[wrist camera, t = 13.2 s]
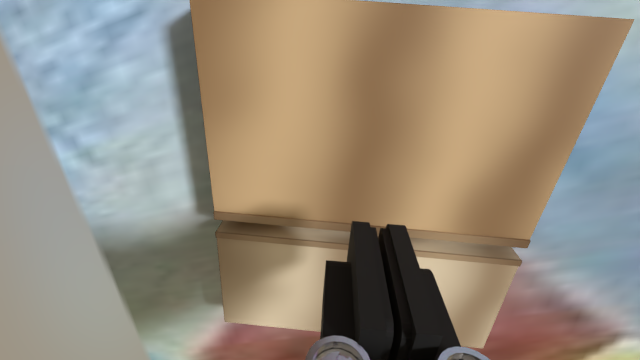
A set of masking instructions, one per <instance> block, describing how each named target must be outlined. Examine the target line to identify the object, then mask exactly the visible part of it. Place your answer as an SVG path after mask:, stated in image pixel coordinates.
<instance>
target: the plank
mask: <svg viewBox="0 0 640 360" xmlns="http://www.w3.org/2000/svg"><path fill="white" fill-rule="evenodd" d="M190 8H191V16H192V25H193V33H194V42H195V50H196V59H197V68H198V76H199V85H200V93H201V102H202V110H203V119H204V127H205V136H206V144H207V153H208V161H209V170H210V178H211V187H212V195H213V204H214V219H215V220H226V221H237V222H247V223H258V224H269V225H280V226H291V227H302V228H313V229H323V230H334V231H345V232H350V231H351V224H352V221H359V222H369V223H370V227H375V228H376V230H377V234H378V235H379V231H380V228H386V225H387V224H395V225H405V226H406V228H407V231H408V234H409V237H410V238H421V239H432V240H443V241H454V242H465V243H475V244H486V245H497V246H508V247H519V248H528V246H529V244H530V237H531V235H532V233H533V231H534V229H535V227H536V225H537V223H538V221H539V219H540V217H541V214H542V212H543V210H544V208H545V206H546V204H547V202H548V200H549V198H550V196H551V193H552V191H553V189H554V187H555V185H556V183H557V181H558V179H559V177H560V175H561V172H562V170H563V168H564V166H565V164H566V162H567V160H568V158H569V156H570V154H571V151H572V149H573V147H574V145H575V143H576V141H577V139H578V137H579V135H580V133H581V130H582V128H583V126H584V124H585V122H586V120H587V118H588V116H589V114H590V112H591V110H592V107H593V105H594V103H595V101H596V99H597V97H598V95H599V93H600V91H601V89H602V86H603V84H604V82H605V80H606V78H607V76H608V74H609V72H610V70H611V68H612V65H613V63H614V61H615V59H616V57H617V55H618V53H619V51H620V49H621V47H622V44H623V42H624V40H625V38H626V36H627V34H628V32H629V30H630V28H631V26H632V23H633V21H634V19H620V18H605V17H591V16H576V15H562V14H547V13H532V12H518V11H503V10H488V9H474V8H459V7H445V6H430V5H415V4H401V3H386V2H372V1H357V0H190Z"/></svg>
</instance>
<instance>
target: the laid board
mask: <svg viewBox="0 0 640 360" xmlns="http://www.w3.org/2000/svg"><path fill="white" fill-rule="evenodd" d="M215 235H216V238H217V246H218V257H219V267H220V278H221V288H222V299H223V309H224V320H225V322H231V323H241V324H251V325H260V326H270V327H280V328H290V329H299V330H309V331H319V332H321V319H322V302H323V288H324V276H325V266H326V260H329V261H341V262H347V254H348V246H349V239H350V232H345V231H334V230H323V229H313V228H302V227H291V226H280V225H269V224H258V223H247V222H237V221H226V220H223V221H222V223H221V224H220V226H219V228H218V229H217V231H216V232H215ZM377 236H379V235H378V234H377ZM410 240H411V243H412V246H413V249H414V252H415V255H416V258H417V261H418V264H419V267H420V268H422V269H430V270H431V271H432V273H433V275H434V277H435V280H436V283H437V285H438V288H439V290H440V293H441V296H442V298H443V301H444V303H445V306H446V309H447V311H448V314H449V316H450V319H451V322H452V324H453V327H454V329H455V332H456V335H457V337H458V340H459V342H460V345H461V346H465V347H475V348H483V347H484V344H485V342H486V340H487V337H488V335H489V333H490V331H491V328H492V326H493V324H494V321H495V319H496V317H497V314H498V312H499V310H500V307H501V305H502V303H503V300H504V298H505V296H506V294H507V291H508V289H509V287H510V284H511V282H512V280H513V277H514V275H515V273H516V270H517V268H518V266H520V265H521V263H522V260H521V259H520V258H519V256H518V255H517V254H516V253H515V251H514V250H513V249H512V247H508V246H497V245H486V244H475V243H465V242H454V241H443V240H432V239H421V238H410Z"/></svg>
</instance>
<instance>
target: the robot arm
mask: <svg viewBox="0 0 640 360" xmlns="http://www.w3.org/2000/svg"><path fill="white" fill-rule="evenodd" d="M305 360H489V359H488V358H487V357H486V356H484V355H482V354H481V353H479V352H477V351H475V350H472V349H469V348H466V347H461V345H460V342H459V340H458V337H457V335H456V332H455V329H454V327H453V324H452V322H451V319H450V316H449V314H448V311H447V309H446V306H445V303H444V301H443V298H442V296H441V293H440V290H439V288H438V285H437V283H436V280H435V277H434V275H433V273H432V271H431V270H430V269H422V268H420V267H419V264H418V261H417V258H416V255H415V252H414V249H413V246H412V243H411V240H410V237H409V234H408V231H407V228H406V226H405V225H395V224H387V225H386V228H380V231H379V236H377V230H376V228H375V227H370V223H369V222H359V221H352V224H351V231H350V239H349V246H348V254H347V262H341V261H329V260H326V266H325V276H324V288H323V302H322V319H321V336H320V340H319V341H317V342H316V343H315V344H314V345H313V346H312V347H311V348H310V349H309V352H308V354H307V356H306V359H305Z"/></svg>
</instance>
